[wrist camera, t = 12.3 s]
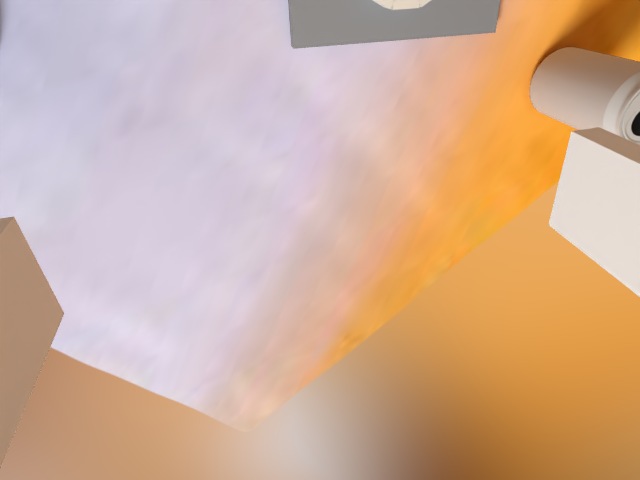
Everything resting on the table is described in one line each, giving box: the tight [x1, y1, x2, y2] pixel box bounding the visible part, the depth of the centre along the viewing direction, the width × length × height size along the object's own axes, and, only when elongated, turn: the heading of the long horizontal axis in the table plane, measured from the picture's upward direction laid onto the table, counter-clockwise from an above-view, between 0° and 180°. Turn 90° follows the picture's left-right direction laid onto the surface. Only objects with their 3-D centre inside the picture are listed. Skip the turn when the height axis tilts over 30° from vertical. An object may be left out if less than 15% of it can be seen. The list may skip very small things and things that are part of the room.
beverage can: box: [530, 47, 640, 145], centre depth 39 cm, size 6×6×12 cm
